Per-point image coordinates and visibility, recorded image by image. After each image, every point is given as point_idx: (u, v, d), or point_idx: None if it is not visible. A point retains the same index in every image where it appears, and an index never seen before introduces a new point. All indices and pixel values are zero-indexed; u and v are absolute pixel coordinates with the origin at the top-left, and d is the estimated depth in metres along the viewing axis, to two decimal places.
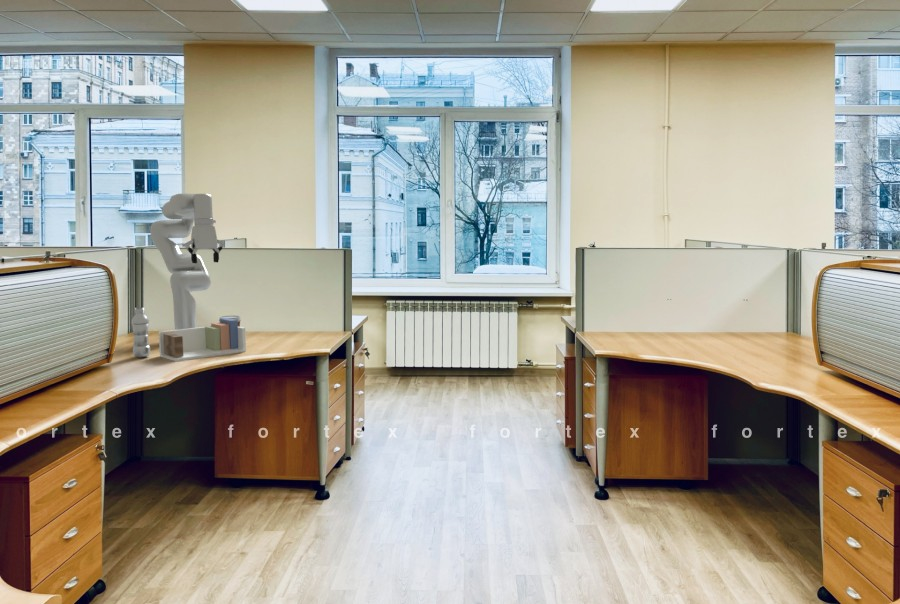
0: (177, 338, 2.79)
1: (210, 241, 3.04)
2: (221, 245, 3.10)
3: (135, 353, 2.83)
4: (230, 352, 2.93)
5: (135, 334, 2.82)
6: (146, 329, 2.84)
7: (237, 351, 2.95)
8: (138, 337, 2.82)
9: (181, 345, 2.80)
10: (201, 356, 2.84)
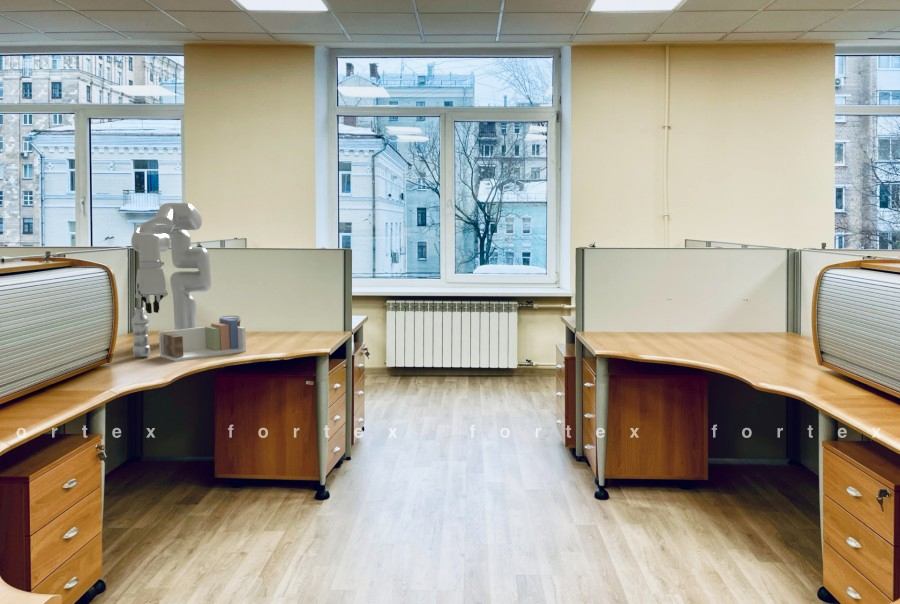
0: (177, 338, 2.79)
1: (157, 286, 2.75)
2: (164, 294, 2.78)
3: (135, 353, 2.83)
4: (230, 352, 2.93)
5: (135, 334, 2.82)
6: (146, 329, 2.84)
7: (237, 351, 2.95)
8: (138, 337, 2.82)
9: (181, 345, 2.80)
10: (201, 356, 2.84)
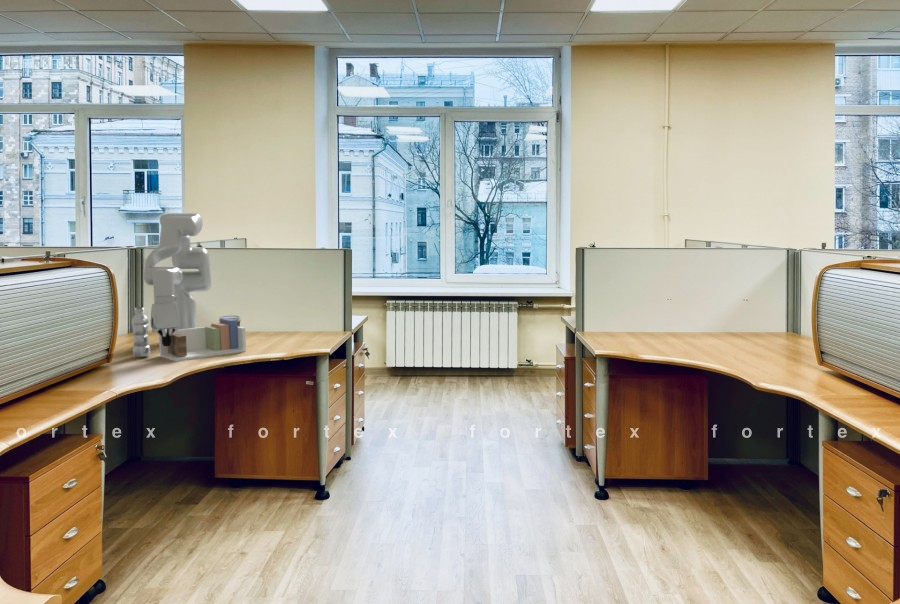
0: (181, 338, 2.80)
1: (171, 320, 2.80)
2: (175, 328, 2.83)
3: (135, 353, 2.83)
4: (230, 352, 2.93)
5: (135, 334, 2.82)
6: (146, 329, 2.84)
7: (237, 351, 2.95)
8: (138, 337, 2.82)
9: (185, 345, 2.81)
10: (201, 356, 2.84)
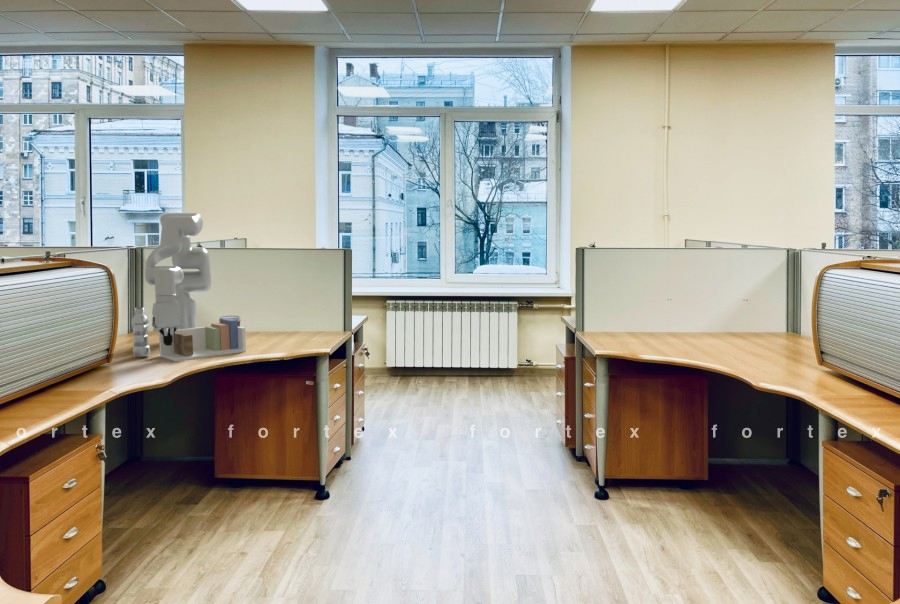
0: (187, 337, 2.81)
1: (173, 319, 2.80)
2: (177, 327, 2.83)
3: (135, 353, 2.83)
4: (230, 352, 2.93)
5: (135, 334, 2.82)
6: (146, 329, 2.84)
7: (237, 351, 2.95)
8: (138, 337, 2.82)
9: (191, 344, 2.83)
10: (201, 356, 2.84)
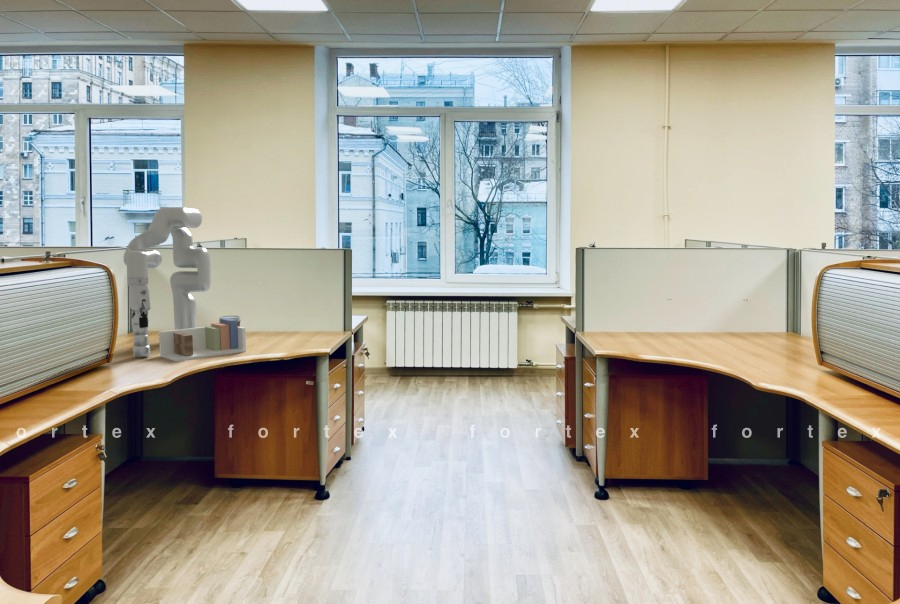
0: (187, 337, 2.81)
1: (134, 302, 2.80)
2: (144, 310, 2.78)
3: (135, 353, 2.83)
4: (230, 352, 2.93)
5: (135, 334, 2.82)
6: (146, 329, 2.84)
7: (237, 351, 2.95)
8: (138, 337, 2.82)
9: (191, 344, 2.83)
10: (201, 356, 2.84)
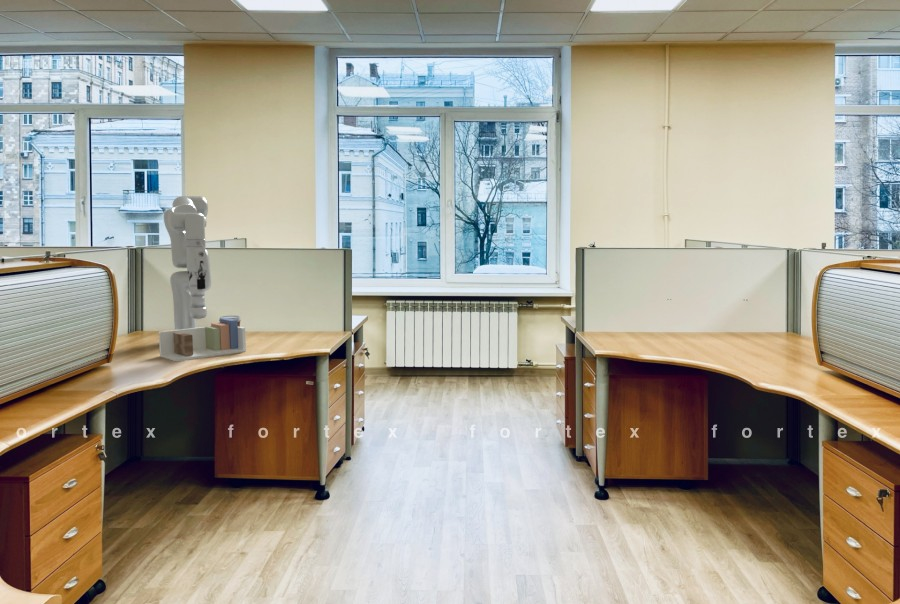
0: (187, 337, 2.81)
1: (192, 264, 2.84)
2: (202, 271, 2.82)
3: (192, 314, 2.86)
4: (230, 352, 2.93)
5: (192, 295, 2.86)
6: (203, 291, 2.87)
7: (237, 351, 2.95)
8: (195, 299, 2.86)
9: (191, 344, 2.83)
10: (201, 356, 2.84)
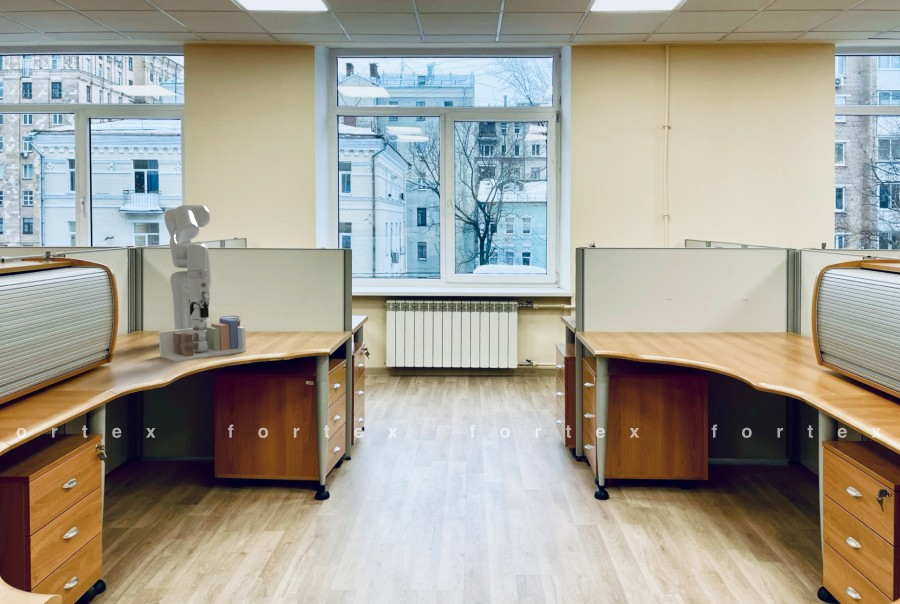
0: (187, 337, 2.81)
1: (194, 294, 2.85)
2: (205, 300, 2.83)
3: (195, 348, 2.88)
4: (230, 352, 2.93)
5: (195, 329, 2.88)
6: (205, 324, 2.89)
7: (237, 351, 2.95)
8: (198, 333, 2.88)
9: (191, 344, 2.83)
10: (201, 356, 2.84)
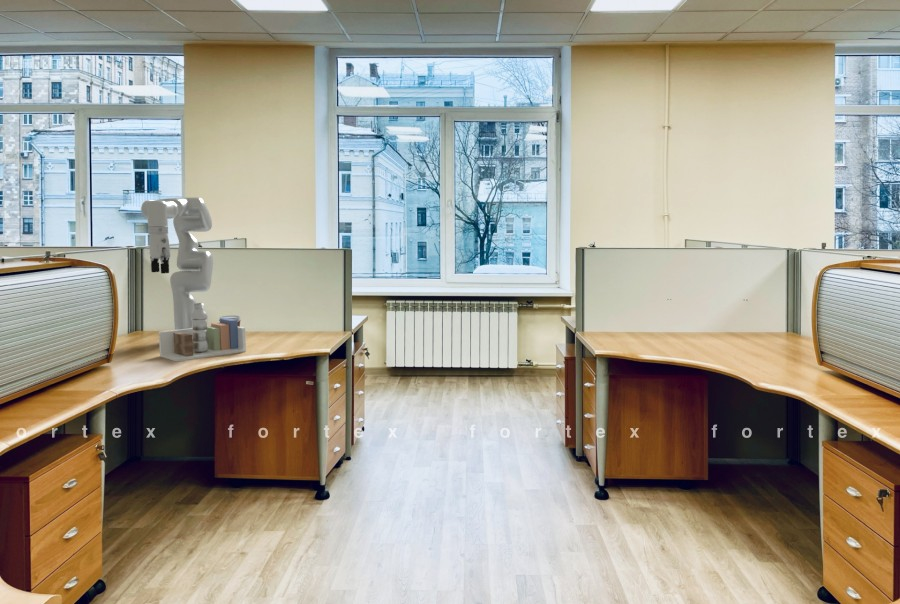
0: (187, 337, 2.81)
1: (154, 250, 2.89)
2: (165, 255, 2.87)
3: (195, 348, 2.88)
4: (230, 352, 2.93)
5: (195, 329, 2.88)
6: (205, 324, 2.89)
7: (237, 351, 2.95)
8: (198, 333, 2.88)
9: (191, 344, 2.83)
10: (201, 356, 2.84)
